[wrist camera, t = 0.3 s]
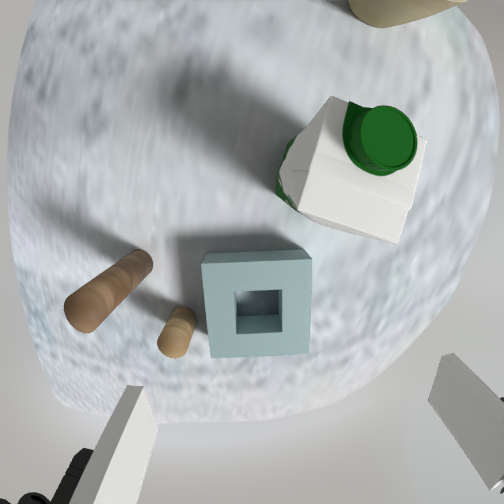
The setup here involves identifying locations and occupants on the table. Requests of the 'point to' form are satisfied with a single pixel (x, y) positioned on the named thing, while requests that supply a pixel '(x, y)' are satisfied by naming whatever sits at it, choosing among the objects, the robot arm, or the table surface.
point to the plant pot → (397, 10)
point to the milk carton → (354, 169)
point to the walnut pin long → (106, 291)
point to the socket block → (253, 279)
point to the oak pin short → (177, 333)
